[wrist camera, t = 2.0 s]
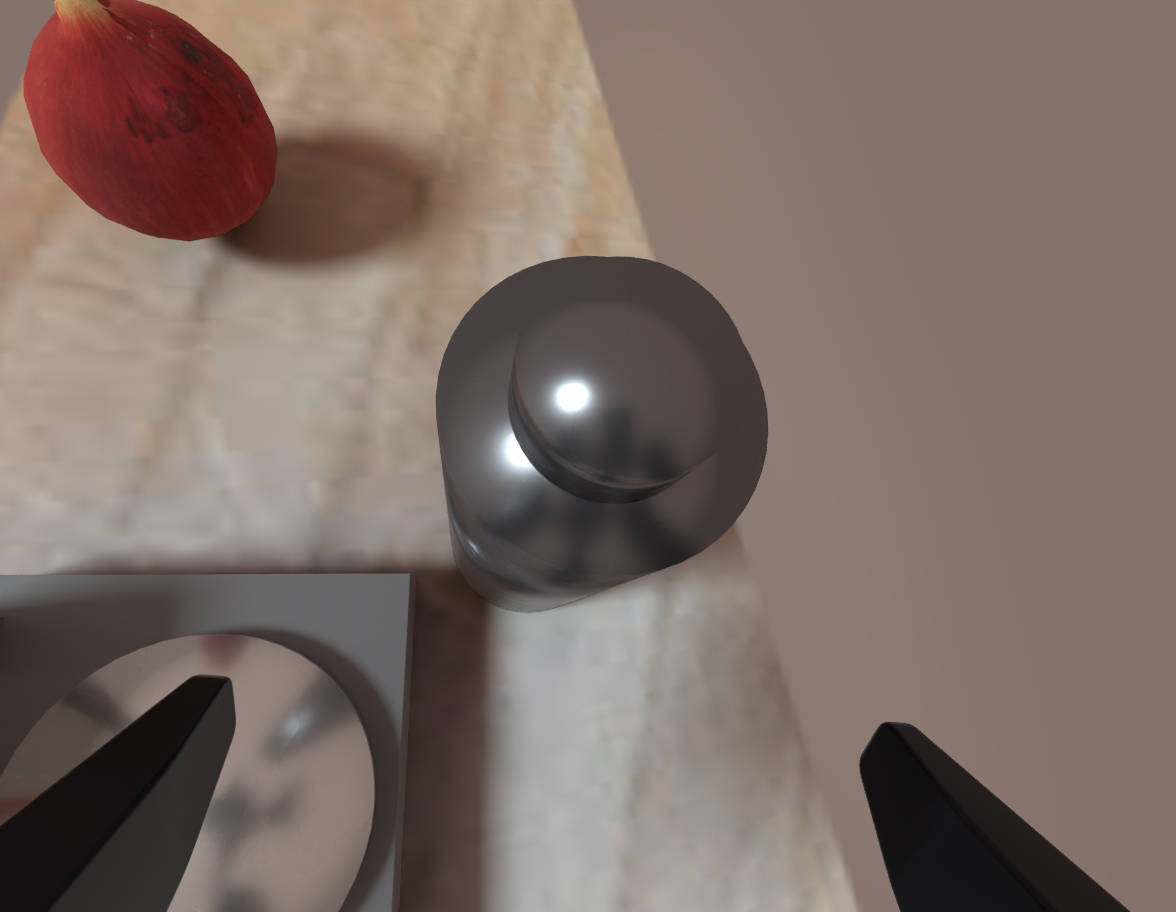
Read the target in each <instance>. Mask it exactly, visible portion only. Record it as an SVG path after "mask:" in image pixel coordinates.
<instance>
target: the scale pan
mask: <svg viewBox="0 0 1176 912" xmlns="http://www.w3.org/2000/svg"><path fill="white" fill-rule="evenodd" d="M198 674H206V675H220V676H227V677H229V678H230V679H231V681H232V685H233V693H234V703H235V712H236V728H235V733H234V737H233V740H232V743H231V746H230V748H229V751H228V754H227V757H226V760H225V763H224V765H223V768H222V771H221V774H220V777H219V780H218V782H217V785H216V788H215V791H214V794H213V796H212V799H211V802H210V805H209V808H208V811H207V813H206V816H205V819H204V822H203V825H202V828H201V830H200V833H199V836H198V839H197V842H196V845H195V847H194V850H193V853H192V855H191V858H190V861H189V863H188V866H187V868H186V871H185V873H184V875H183V878H182V880H181V882H180V884H179V887H178V889H177V891H176V893H175V895H174V897H173V900H172V902H171V904H170V906H169V908H168V910H167V912H338V911H339V909H340V908H341V906H342V905H343V903H344V901H345V899H346V897H347V895H348V893H349V891H350V889H351V887H352V885H353V883H354V881H355V878H356V876H357V874H358V872H359V869H360V866H361V864H362V861H363V858H364V855H365V853H366V850H367V847H368V843H369V839H370V835H371V831H372V827H373V822H374V814H375V806H376V769H375V761H374V753H373V750H372V746H371V742H370V738H369V734H368V731H367V729H366V727H365V724H364V722H363V719H362V717H361V715H360V713H359V711H358V709H357V707H356V706H355V704H354V702H353V701H352V699H351V697H350V696H349V694H348V693H347V692H346V691H345V689H344V688H343V687H342V686H341V685H340V683H339V682H338V681H337V680H336V679H335V678H334V677H333V676H332V675H331V674H330V673H329V672H328V671H327V670H325V669H324V668H323V667H322V666H321V665H320V664H318V663H317V662H315V661H314V660H312V659H311V658H309V657H308V656H306V655H305V654H303V653H301V652H299V651H297V650H294V649H292V648H290V647H288V646H286V645H283V644H280V643H277V642H274V641H271V640H268V639H264V638H258V637H252V636H246V635H230V634H206V635H193V636H186V637H181V638H176V639H171V640H166V641H162V642H159V643H156V644H153V645H150V646H147V647H144V648H141V649H138V650H136V651H134V652H132V653H130V654H127V655H125V656H123V657H121V658H118V659H116V660H114V661H113V662H111V663H109V664H108V665H106V666H104V667H103V668H101V669H99V670H97V671H96V672H94V673H92V674H91V675H90V676H88V677H87V678H86V679H84V680H83V681H82V682H80V683H79V684H77V685H76V686H75V687H73V688H72V689H71V690H69V691H68V692H67V693H66V694H65V695H64V696H63V697H62V698H61V699H60V700H59V701H57V702H56V703H55V704H54V705H53V706H52V707H51V708H50V709H49V710H48V711H47V712H46V713H45V714H44V715H43V717H42V718H41V719H40V720H39V721H38V722H37V723H36V724H35V726H34V727H33V728H32V729H31V730H30V731H29V733H28V734H27V736H26V737H25V738H24V740H23V741H22V743H21V744H20V745H19V747H18V748H17V750H16V751H15V752H14V754H13V755H12V757H11V759H10V761H9V763H8V764H7V766H6V768H5V770H4V772H3V773H2V775H1V777H0V825H1V824H3V823H4V822H5V821H6V820H8V819H9V818H10V817H12V816H13V815H14V814H15V813H17V812H18V811H19V810H20V809H22V808H23V807H24V806H26V805H27V804H28V803H29V802H31V801H32V800H33V799H35V798H36V797H37V796H38V795H40V794H41V793H42V792H44V791H45V790H46V789H47V788H49V787H50V786H51V785H53V784H54V783H55V782H56V781H58V780H59V779H60V778H61V777H63V776H64V775H65V774H67V773H68V772H69V771H70V770H72V769H73V768H74V767H76V766H77V765H78V764H79V763H81V762H82V761H83V760H85V759H86V758H87V757H88V756H90V755H91V754H92V753H94V752H95V751H96V750H97V749H99V748H100V747H101V746H102V745H104V744H105V743H106V742H108V741H109V740H110V739H111V738H113V737H114V736H115V735H117V734H118V733H119V732H120V731H122V730H123V729H124V728H126V727H127V726H128V725H129V724H131V723H132V722H133V721H135V720H136V719H137V718H138V717H140V716H141V715H142V714H143V713H145V712H146V711H147V710H149V709H150V708H151V707H152V706H154V705H155V704H156V703H158V702H159V701H160V700H161V699H163V698H164V697H165V696H167V695H168V694H169V693H170V692H172V691H173V690H174V689H176V688H177V687H178V686H179V685H181V684H182V683H183V682H184V681H186V680H187V679H189V678H190V677H192V676H194V675H198Z"/></svg>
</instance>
